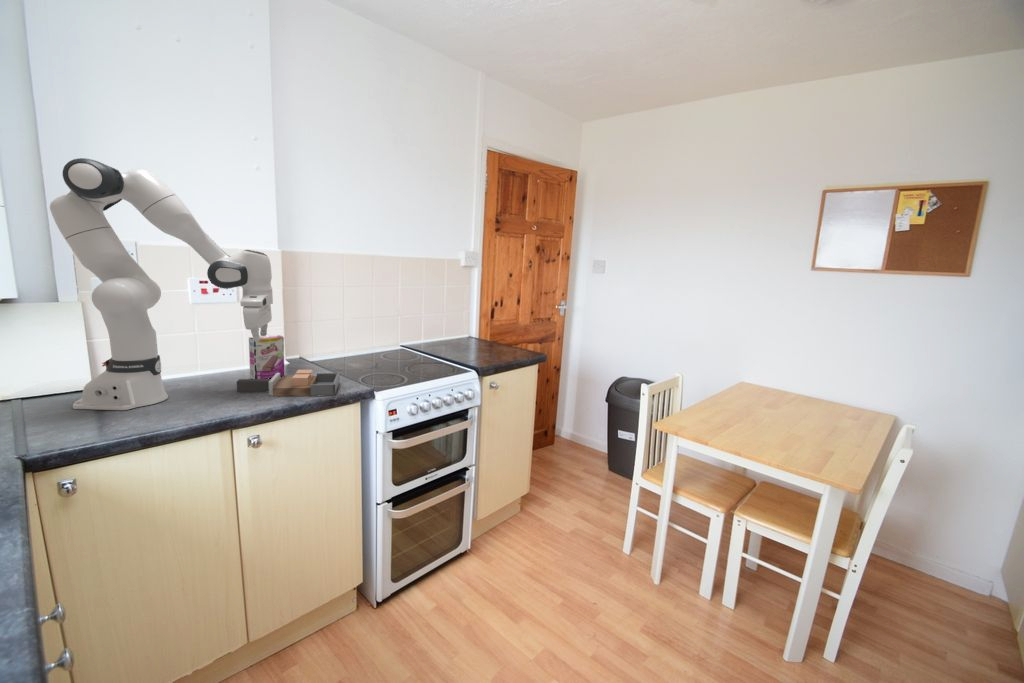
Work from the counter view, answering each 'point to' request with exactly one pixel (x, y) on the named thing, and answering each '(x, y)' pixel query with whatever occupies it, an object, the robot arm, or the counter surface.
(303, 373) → the tile
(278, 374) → the scraper
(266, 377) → the candy bar box
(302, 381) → the tile
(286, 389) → the board
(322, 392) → the tray
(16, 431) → the counter surface
